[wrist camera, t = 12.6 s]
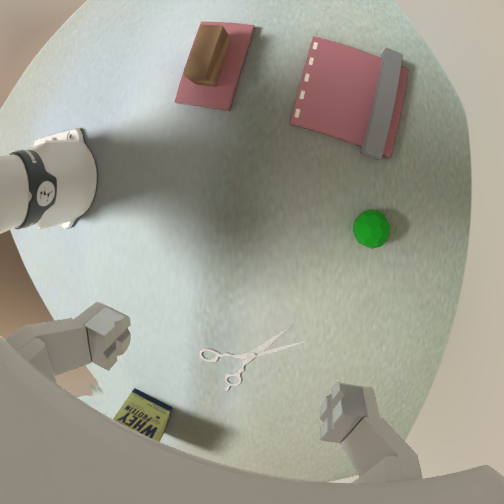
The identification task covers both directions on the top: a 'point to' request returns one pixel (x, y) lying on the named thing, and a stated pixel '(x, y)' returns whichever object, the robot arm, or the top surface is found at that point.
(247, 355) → the scissors
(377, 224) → the polyhedron
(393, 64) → the ticket
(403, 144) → the top surface
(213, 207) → the top surface
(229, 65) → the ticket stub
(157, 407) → the protein box
